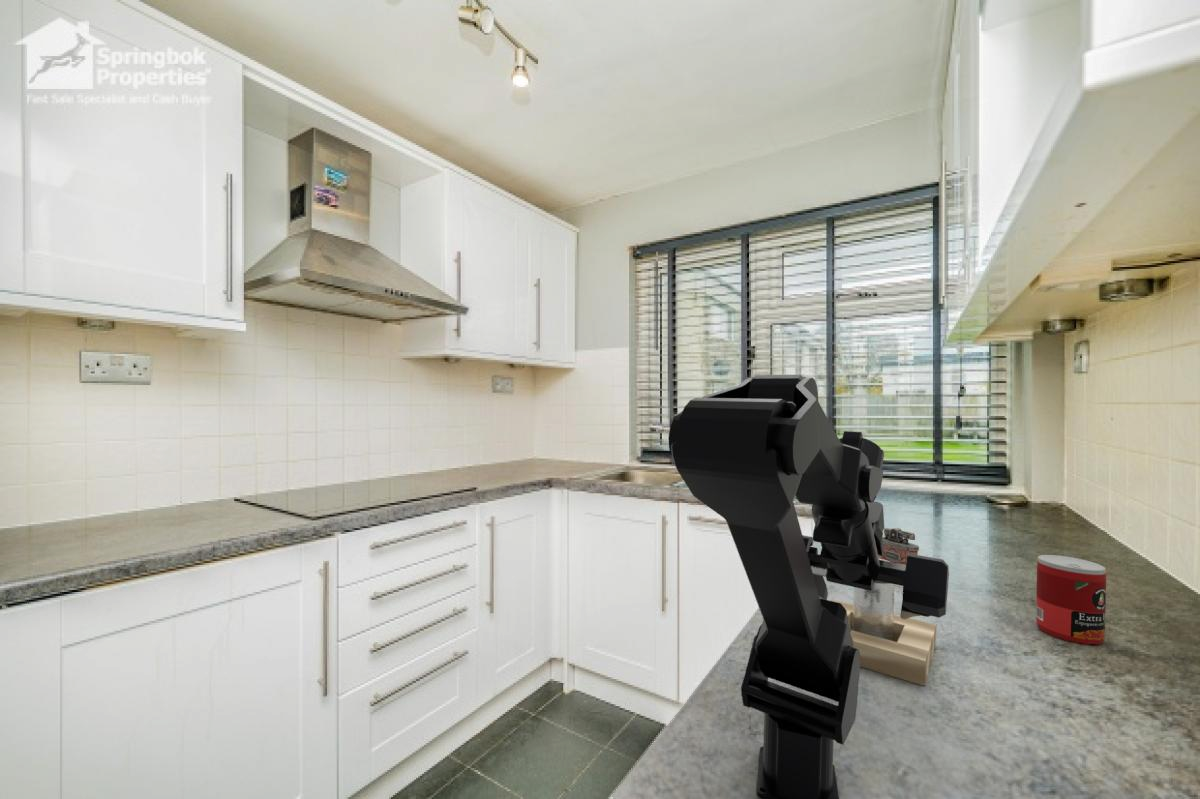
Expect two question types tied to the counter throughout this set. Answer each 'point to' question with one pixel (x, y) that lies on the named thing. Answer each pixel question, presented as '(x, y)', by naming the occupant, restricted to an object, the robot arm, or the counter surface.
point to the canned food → (1071, 599)
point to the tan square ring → (897, 648)
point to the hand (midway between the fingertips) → (863, 605)
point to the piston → (874, 610)
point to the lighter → (898, 545)
